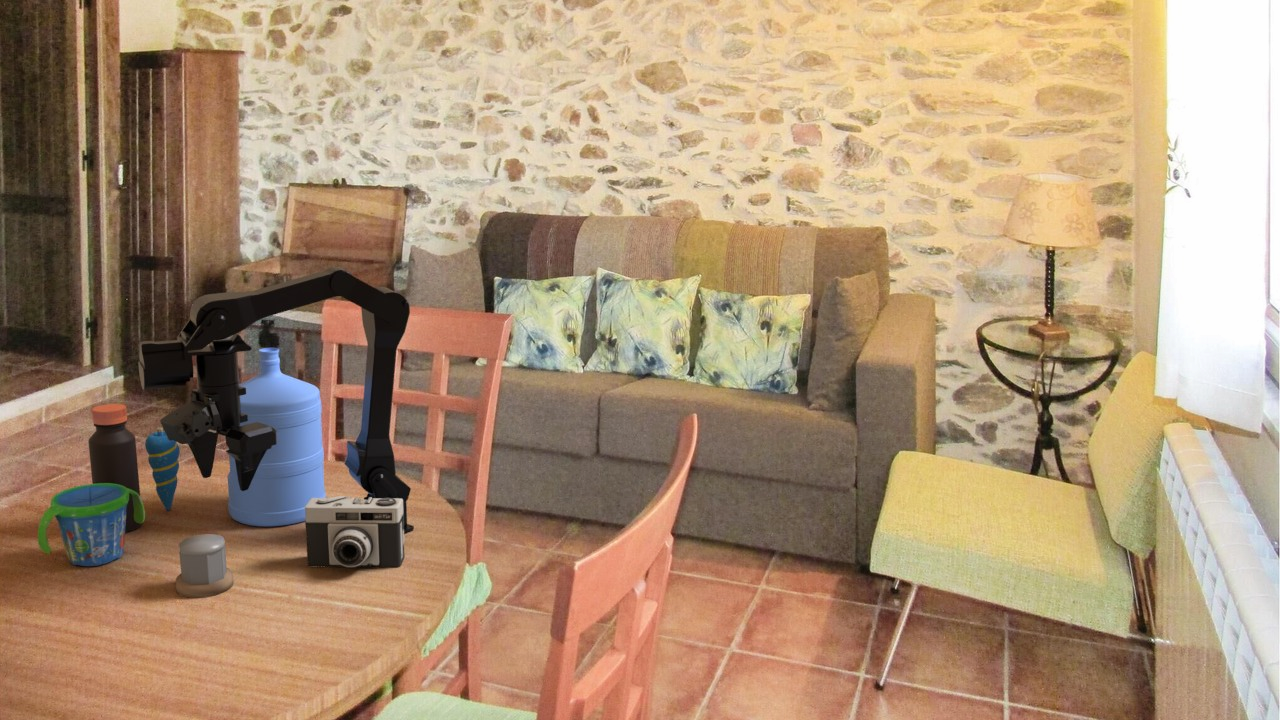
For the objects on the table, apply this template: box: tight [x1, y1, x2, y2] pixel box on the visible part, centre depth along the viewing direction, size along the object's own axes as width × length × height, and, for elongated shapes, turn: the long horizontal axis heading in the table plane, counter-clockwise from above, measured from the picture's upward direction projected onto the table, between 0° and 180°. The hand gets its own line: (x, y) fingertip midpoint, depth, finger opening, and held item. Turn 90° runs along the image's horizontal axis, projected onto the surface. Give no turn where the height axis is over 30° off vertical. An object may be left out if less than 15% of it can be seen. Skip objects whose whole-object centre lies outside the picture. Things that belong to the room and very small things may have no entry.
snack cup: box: [37, 483, 146, 567], centre depth 166 cm, size 16×10×10 cm
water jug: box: [227, 347, 327, 528], centre depth 185 cm, size 16×16×28 cm
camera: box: [304, 495, 405, 569], centre depth 165 cm, size 14×8×10 cm, turn 92°
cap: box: [178, 533, 228, 585], centre depth 158 cm, size 6×6×5 cm
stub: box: [175, 566, 234, 599], centre depth 158 cm, size 8×8×5 cm
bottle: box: [87, 403, 143, 533], centre depth 177 cm, size 7×7×20 cm
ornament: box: [144, 423, 181, 511], centre depth 186 cm, size 5×5×15 cm
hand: (225, 483), depth 165 cm, fingers open, 9 cm apart
